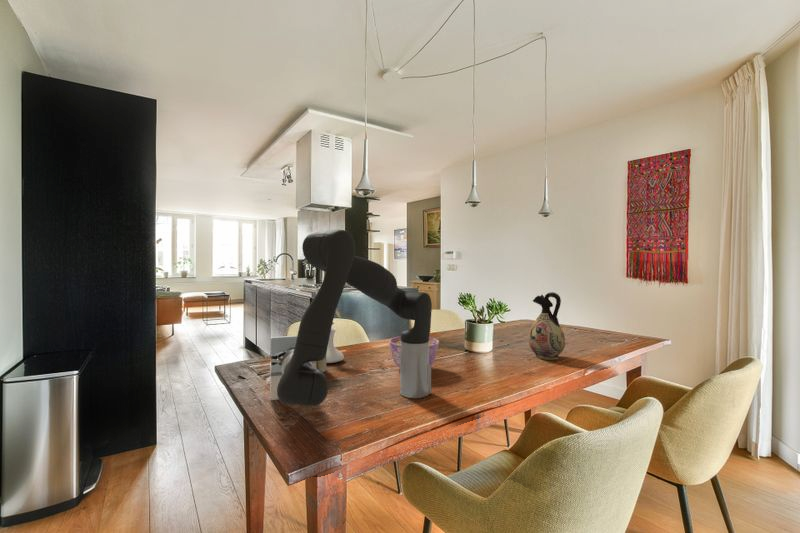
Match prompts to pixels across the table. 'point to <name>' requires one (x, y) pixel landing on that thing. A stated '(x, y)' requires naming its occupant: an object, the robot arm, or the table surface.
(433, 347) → the purple patterned bowl
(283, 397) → the robot arm
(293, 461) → the table surface
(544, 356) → the ceramic jug
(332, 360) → the flower in vase
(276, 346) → the lid
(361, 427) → the table surface
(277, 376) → the crate
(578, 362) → the table surface
